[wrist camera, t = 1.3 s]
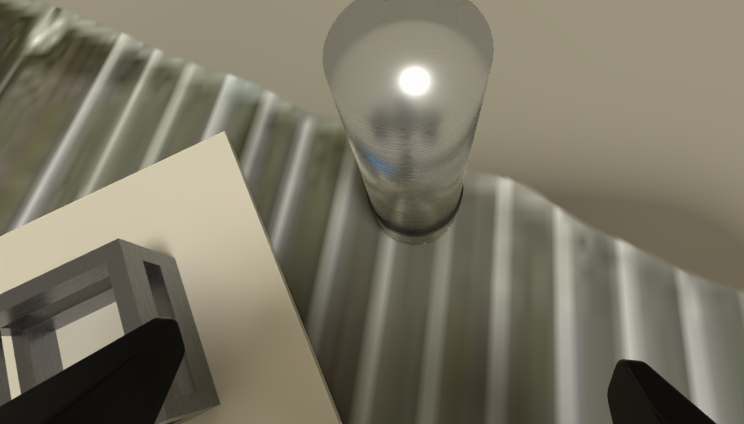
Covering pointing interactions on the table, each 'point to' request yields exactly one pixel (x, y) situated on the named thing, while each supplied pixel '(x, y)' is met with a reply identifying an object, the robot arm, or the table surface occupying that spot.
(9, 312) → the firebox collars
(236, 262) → the tile
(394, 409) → the table surface
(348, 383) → the table surface
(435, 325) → the table surface
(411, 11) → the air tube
